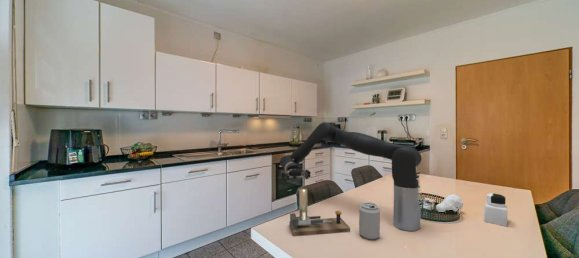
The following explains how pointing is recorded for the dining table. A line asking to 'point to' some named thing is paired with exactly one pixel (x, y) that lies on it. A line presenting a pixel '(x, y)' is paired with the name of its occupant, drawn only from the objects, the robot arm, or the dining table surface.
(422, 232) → the dining table surface
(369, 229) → the can
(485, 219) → the medicine bottle
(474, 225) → the dining table surface
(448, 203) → the white cloth bundle
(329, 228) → the track
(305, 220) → the slider
